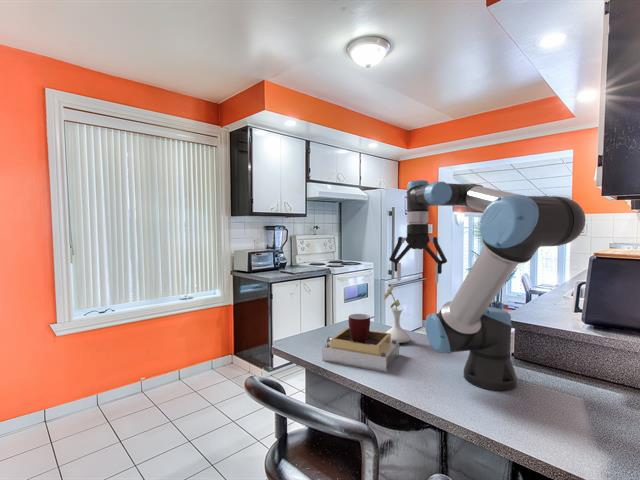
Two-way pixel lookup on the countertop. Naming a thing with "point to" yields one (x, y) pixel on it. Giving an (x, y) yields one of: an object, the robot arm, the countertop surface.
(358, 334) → the mug
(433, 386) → the countertop surface
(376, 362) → the gold rimmed tray box
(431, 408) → the countertop surface
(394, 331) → the flower in vase
